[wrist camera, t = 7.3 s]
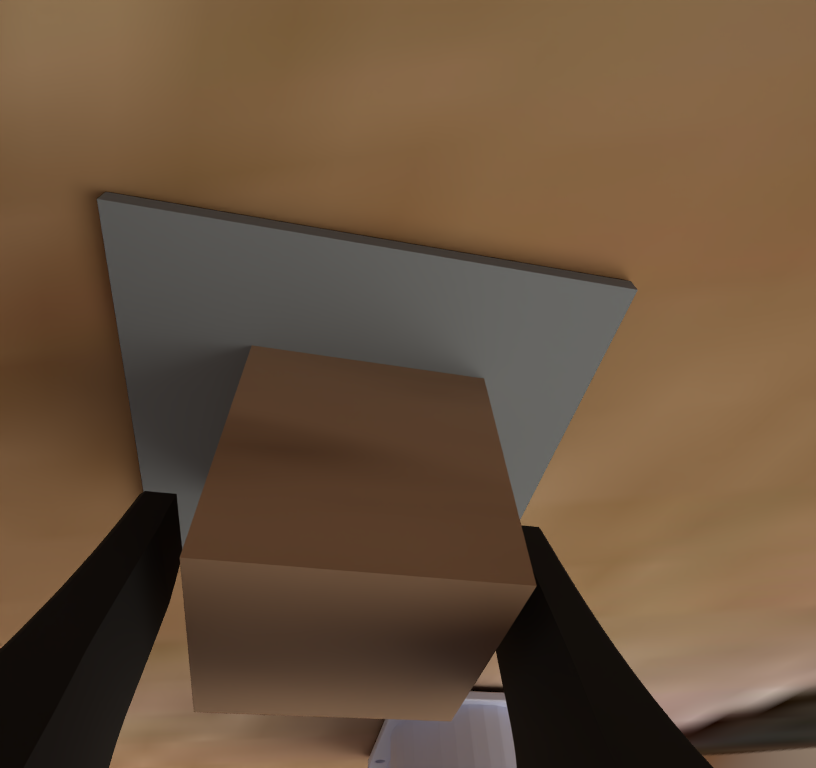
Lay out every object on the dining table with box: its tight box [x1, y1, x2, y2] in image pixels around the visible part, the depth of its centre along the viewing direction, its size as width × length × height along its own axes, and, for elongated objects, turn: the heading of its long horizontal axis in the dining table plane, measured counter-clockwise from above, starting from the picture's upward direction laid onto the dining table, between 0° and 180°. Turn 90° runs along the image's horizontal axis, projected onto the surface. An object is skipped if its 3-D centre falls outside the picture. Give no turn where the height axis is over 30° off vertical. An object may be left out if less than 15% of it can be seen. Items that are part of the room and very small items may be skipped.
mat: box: [97, 192, 637, 549], centre depth 14 cm, size 11×11×1 cm
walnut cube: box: [180, 345, 536, 721], centre depth 12 cm, size 6×6×6 cm
